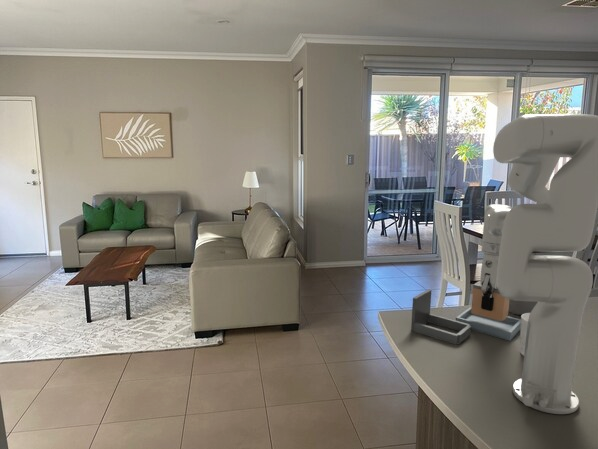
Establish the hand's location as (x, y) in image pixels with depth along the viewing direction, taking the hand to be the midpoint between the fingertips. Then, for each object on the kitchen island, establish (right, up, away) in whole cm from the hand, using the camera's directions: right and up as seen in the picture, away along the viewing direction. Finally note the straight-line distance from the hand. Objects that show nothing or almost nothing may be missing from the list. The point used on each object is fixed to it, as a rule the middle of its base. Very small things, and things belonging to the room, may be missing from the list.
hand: (490, 306), depth 131 cm
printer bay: (-15, -7, -3) cm, 17 cm away
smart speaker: (+15, -5, +12) cm, 20 cm away
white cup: (+5, -10, -16) cm, 19 cm away
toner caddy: (0, -3, +1) cm, 3 cm away
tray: (0, -6, +1) cm, 6 cm away
